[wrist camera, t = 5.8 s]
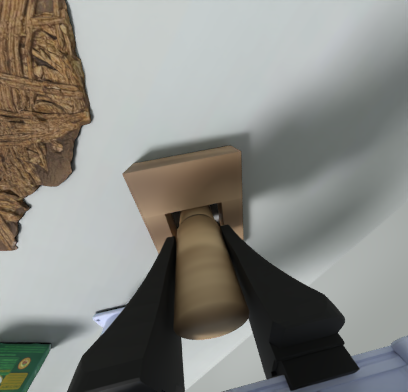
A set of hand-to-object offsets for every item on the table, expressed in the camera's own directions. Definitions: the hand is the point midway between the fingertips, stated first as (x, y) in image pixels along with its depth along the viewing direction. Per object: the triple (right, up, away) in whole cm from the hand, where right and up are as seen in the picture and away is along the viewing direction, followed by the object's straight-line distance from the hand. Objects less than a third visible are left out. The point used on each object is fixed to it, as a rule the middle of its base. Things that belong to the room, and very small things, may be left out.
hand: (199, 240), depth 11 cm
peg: (-1, +2, +3) cm, 4 cm away
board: (0, +2, +3) cm, 4 cm away
